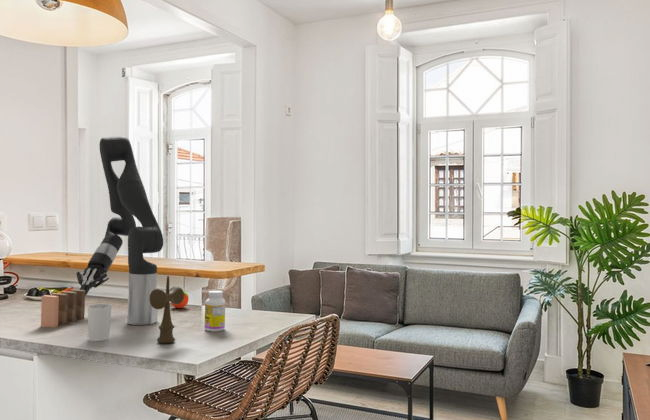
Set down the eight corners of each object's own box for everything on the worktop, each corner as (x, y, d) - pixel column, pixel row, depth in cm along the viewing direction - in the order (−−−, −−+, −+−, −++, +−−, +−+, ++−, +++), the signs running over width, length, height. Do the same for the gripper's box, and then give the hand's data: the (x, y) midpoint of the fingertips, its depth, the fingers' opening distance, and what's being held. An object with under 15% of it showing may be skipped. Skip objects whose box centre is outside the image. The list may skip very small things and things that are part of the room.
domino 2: (54, 322, 185) (55, 293, 185) (67, 323, 184) (68, 294, 184) (50, 323, 183) (51, 293, 183) (63, 324, 182) (64, 294, 182)
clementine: (194, 308, 218) (194, 290, 218) (182, 310, 212) (183, 292, 212) (178, 306, 222) (178, 288, 222) (166, 308, 216) (167, 290, 216)
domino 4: (71, 317, 194) (72, 289, 194) (84, 318, 193) (85, 290, 193) (68, 318, 192) (69, 290, 192) (81, 319, 191) (81, 291, 191)
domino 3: (63, 319, 190) (64, 291, 189) (75, 321, 188) (76, 292, 188) (59, 320, 188) (60, 291, 188) (72, 322, 187) (73, 292, 187)
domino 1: (44, 325, 181) (45, 295, 181) (57, 326, 180) (58, 296, 180) (40, 326, 179) (41, 295, 179) (54, 327, 178) (54, 296, 178)
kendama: (147, 344, 160) (149, 276, 160) (168, 338, 169) (170, 273, 169) (163, 347, 158) (165, 278, 158) (184, 340, 167) (186, 275, 167)
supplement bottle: (202, 328, 184) (204, 290, 184) (222, 327, 186) (223, 289, 186) (205, 332, 178) (207, 293, 178) (226, 331, 180) (227, 292, 180)
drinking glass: (93, 335, 169) (94, 303, 169) (114, 336, 169) (115, 304, 169) (82, 341, 162) (83, 307, 162) (104, 342, 162) (105, 308, 162)
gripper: (83, 250, 205) (60, 287, 193) (114, 252, 202) (93, 290, 191) (91, 263, 211) (69, 300, 199) (122, 265, 208) (101, 302, 196)
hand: (81, 295), depth 195 cm, fingers closed
